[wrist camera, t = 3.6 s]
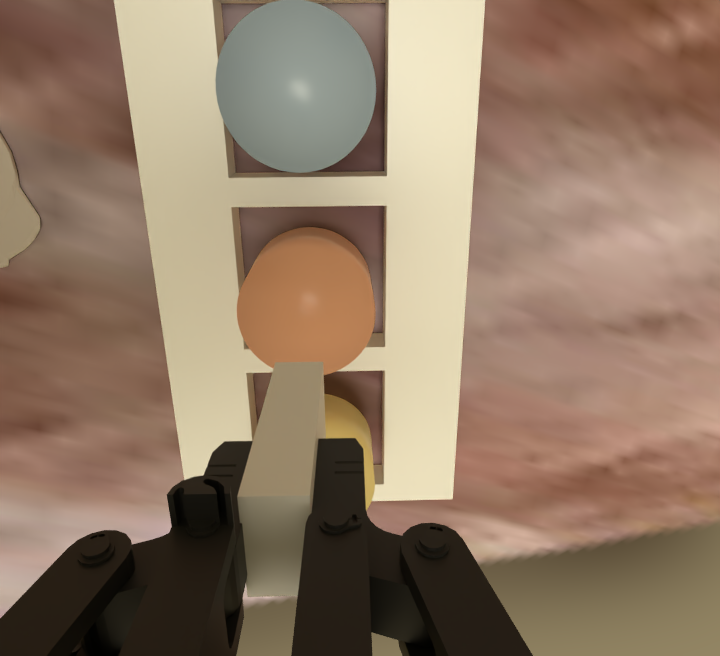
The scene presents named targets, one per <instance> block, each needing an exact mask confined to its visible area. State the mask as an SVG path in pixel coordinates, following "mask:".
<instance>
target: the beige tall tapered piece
mask: <svg viewBox="0 0 720 656" xmlns="http://www.w3.org/2000/svg"><path fill="white" fill-rule="evenodd" d="M39 230H40V217H39V215H38V214H37V212H36V211H35V209H34V208H33V206H32V205H31V203H30V202H29V200H28V199H27V197H26V196H25V194H24V193H23V191H22V190H21V188H20V187H19V180H18V173H17V169H16V166H15V162H14V159H13V155H12V152H11V150H10V148H9V147H8V145H7V143H6V142H5V140H4V138H3V136H2V135H1V133H0V268H2V267H7V266H8V265H9V259H11V258H12V257H14V256H15V255H17V254H19V253H20V252H22V251H24V250H25V249H26V248H27V247H28V246H29V245H30V244H31V243H32V242H33V240H34V239H35V238H36V236H37V234H38V232H39Z"/></svg>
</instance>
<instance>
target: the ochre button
mask: <svg viewBox="0 0 720 656" xmlns="http://www.w3.org/2000/svg"><path fill="white" fill-rule="evenodd" d="M324 400H325V429H326V438H356V440H357V441H358V442H359V444H360V445H361V446H362V447H363V451H364V476H365V500H366V510H367V508H368V507H369V505H370V503H371V501H372V498H373V495H374V490H375V479H374V467H373V455H372V442H371V433H370V428H369V426H368V423H367V421H366V419H365V418H364V416H363V415H362V413H361V412H360V411H359V410H358V409H357V408H356V407H355V406H353V405H352V404H351V403H349V402H347V401H346V400H344V399H341V398H339V397H336V396H333V395H329V394H324Z"/></svg>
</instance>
